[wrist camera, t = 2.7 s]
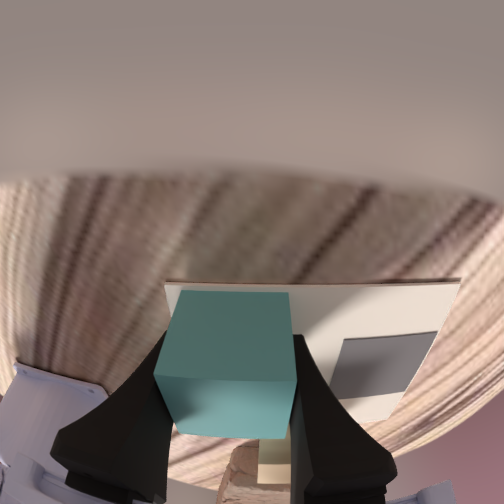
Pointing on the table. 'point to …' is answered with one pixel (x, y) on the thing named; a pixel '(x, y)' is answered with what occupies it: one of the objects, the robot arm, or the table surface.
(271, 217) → the table surface
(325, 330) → the plate
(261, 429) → the teal block
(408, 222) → the table surface
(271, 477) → the beech block
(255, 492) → the brick
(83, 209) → the table surface
